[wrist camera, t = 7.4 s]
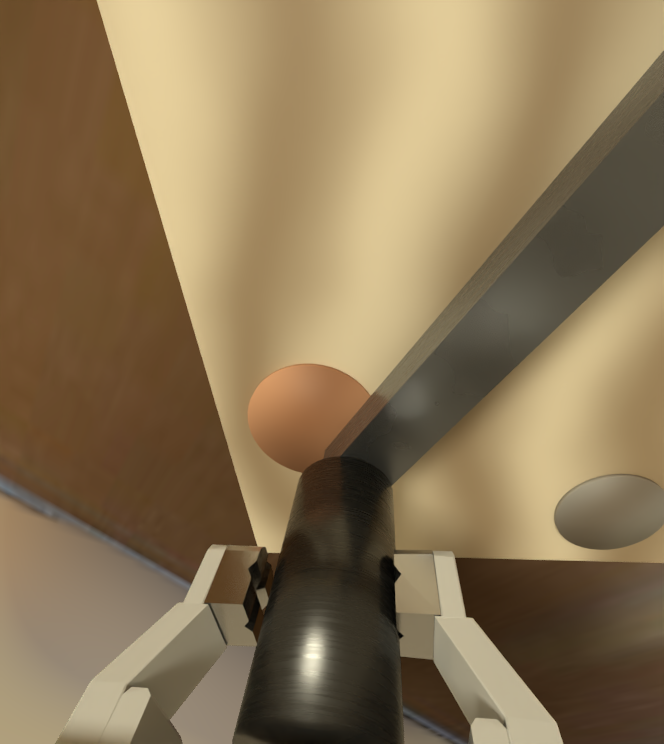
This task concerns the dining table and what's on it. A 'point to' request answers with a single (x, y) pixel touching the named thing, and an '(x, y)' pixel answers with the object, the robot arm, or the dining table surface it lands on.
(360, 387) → the lever board
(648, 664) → the dining table surface
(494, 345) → the lever
